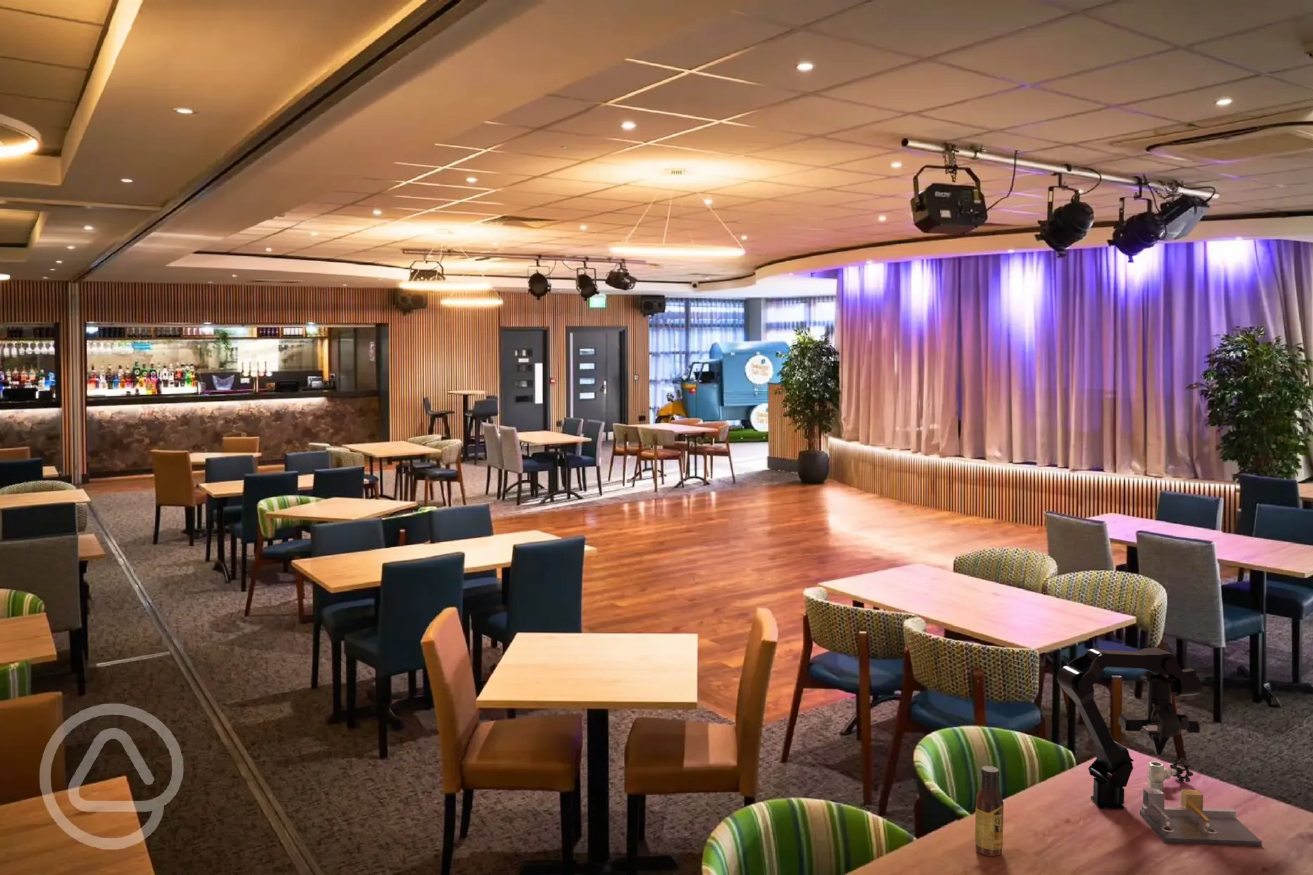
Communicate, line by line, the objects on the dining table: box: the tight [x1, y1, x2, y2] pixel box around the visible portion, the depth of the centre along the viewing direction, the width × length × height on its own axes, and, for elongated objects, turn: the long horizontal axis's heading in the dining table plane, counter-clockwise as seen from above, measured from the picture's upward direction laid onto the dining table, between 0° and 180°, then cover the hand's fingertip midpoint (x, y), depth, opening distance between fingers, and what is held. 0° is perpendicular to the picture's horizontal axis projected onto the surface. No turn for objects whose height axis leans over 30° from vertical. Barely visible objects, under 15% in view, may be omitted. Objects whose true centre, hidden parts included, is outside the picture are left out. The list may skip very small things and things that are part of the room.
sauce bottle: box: [974, 765, 1005, 857], centre depth 227 cm, size 6×6×20 cm
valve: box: [1147, 758, 1194, 790], centre depth 263 cm, size 7×7×12 cm
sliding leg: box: [1180, 789, 1210, 830], centre depth 239 cm, size 4×10×6 cm, turn 174°
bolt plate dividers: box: [1139, 787, 1263, 847], centre depth 237 cm, size 22×15×7 cm
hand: (1158, 754), depth 254 cm, fingers closed
